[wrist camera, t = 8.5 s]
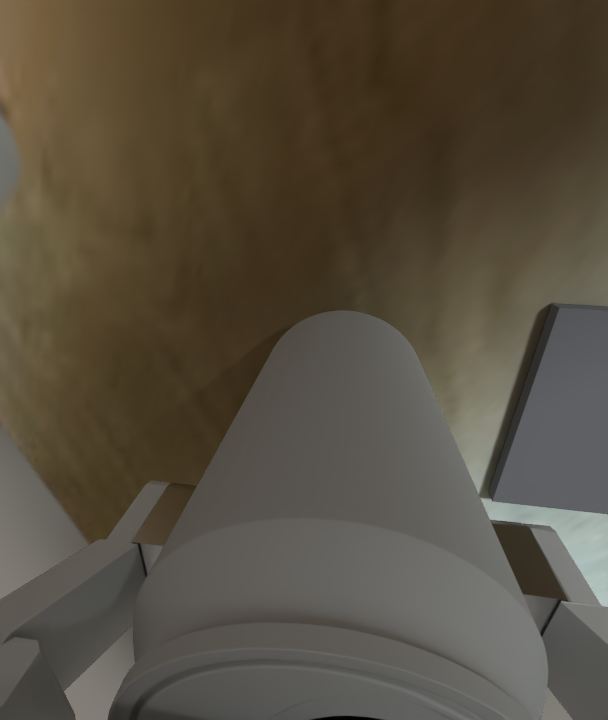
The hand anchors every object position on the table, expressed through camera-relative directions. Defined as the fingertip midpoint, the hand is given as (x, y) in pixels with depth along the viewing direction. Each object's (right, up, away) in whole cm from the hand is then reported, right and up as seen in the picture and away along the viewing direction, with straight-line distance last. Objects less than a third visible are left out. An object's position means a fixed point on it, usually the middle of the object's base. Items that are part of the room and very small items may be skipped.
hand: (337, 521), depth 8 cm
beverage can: (+1, +3, +7) cm, 8 cm away
